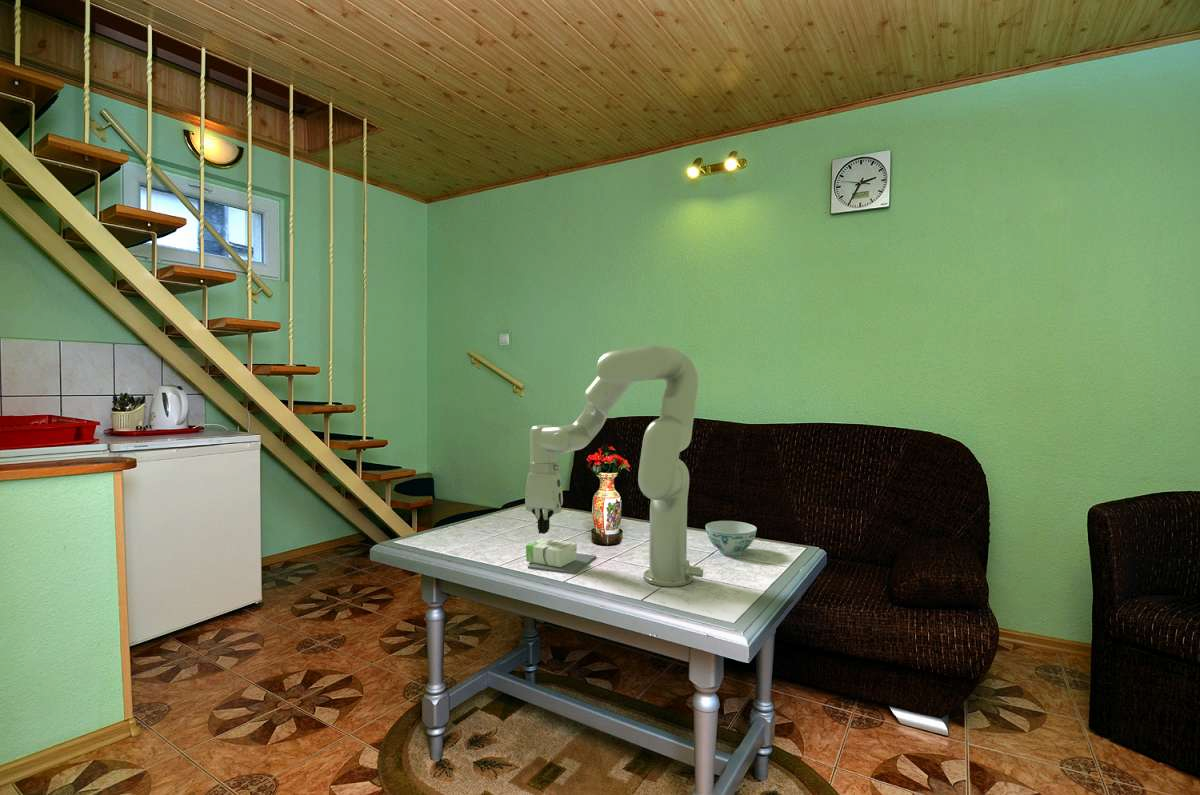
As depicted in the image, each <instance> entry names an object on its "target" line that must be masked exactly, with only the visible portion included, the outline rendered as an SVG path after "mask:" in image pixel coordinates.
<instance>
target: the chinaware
mask: <svg viewBox="0 0 1200 795" xmlns="http://www.w3.org/2000/svg"><path fill="white" fill-rule="evenodd" d="M757 530H758V528H757V527H756V526H755V525H753V524H750V523H747V522H743V521H735V520H717V521H711V522H708V523H706V524H705V532H706V534H707V538H708V539H709V541H710V543H711V544H712V545H713V546H714V547H715V548H717V549H718V551H719V553H720V554H722V555H725V556H734V557H735V556H740V555H742V554H743V551H744V550H746V549H747V548H749V547H750V545H751V544H752V543H753V542H754V540H755V537H756V534H757Z"/></svg>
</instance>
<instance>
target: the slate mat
mask: <svg viewBox="0 0 1200 795" xmlns="http://www.w3.org/2000/svg"><path fill="white" fill-rule="evenodd" d="M596 558H597V555H594V554H586V553H585V554H584V553H577V552H576V560H575V561H573V562H571V563H568V564H566V565H564V566H562V567H555V566H549V565H544V564H538V563H532V562H531V564H529V565H528V566H527V569H531V570H532V569H533V570H540V571H545V572H555V573H564V574H570V573H571V574H572V575H576V574H577V573H578V572H580V571H581V570H582V569H583V568H585V566H587V565H588V564H590V563H591V562H592V561H594V560H595V559H596Z"/></svg>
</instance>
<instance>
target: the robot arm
mask: <svg viewBox="0 0 1200 795" xmlns="http://www.w3.org/2000/svg"><path fill="white" fill-rule="evenodd" d="M595 370H596V371H595V372H596V375H597V376H596V377H595V378H594V380H593V381H592V382H591V383H590V385H589V386H588V387H587V388H586V390H585V392H584V398H585V400H586V405H585V407H584V409H583V411H582V412H581V414H580V415H579V416H578V417H577V419H576V420H575V421H574V422H573V423H572V424H566V425H559V426H558V425H557V426H554V425H552V424H536V425H533V426H532V427H530V431H529V443H530V444H529V449H530V450H529V451H530V452H529V459H530V460H529V467H530V468H529V472H528V473H527V479H526V483H525V495H524V499H525V500H524V501H525V502H524V503H525V505H526V506H525V510H526V511H527V512H530V513H532V514H533V515H534V516H535V519H537V530H538V534H542V535H545V534H546V533H548V532H549V530H550V518H552V516H553V515H556V514H560V513H562V505H563V502H564V499H563V498H564V497H563V485H562V480H561V479H562V478H561V474H560V473H559V472H558V471H561V469H562V466H561V464H560V465H559V464H558V461H557V460H558V457H557V454H558V453H559V454H567V453H571V452H575V451H580V450H582V449H584V448H585V447H587V446H588V445H589V444H590V443H591V442H592V441H593V439H594V438H595V437H596V436H597V435H598V433H599V432H600V431H601V429H602V428H603V426H604V425H605V422H606V421H607V418H608V416H609V413H610V411H611V409H612V408H613V407H614V406H615V405H616V404H617V402H618V401H619V400H620V398H622V397H623V395H624V393H625V392H626V391H627V390H628V389H629V388H630V386H631V385H632V384H633V383H635V382H636V383H637V382H643V381H655V380H656V381H657V380H658V381H659V380H660V381H662V380H663V381H664V382H665V388H664V392H663V396H662V401H661V408H660V412H659V418H656V419H655V420H653V421H651V422H650V423H649V425H647V427H646V428H645V431H644V435H643V439H642V446H641V452H640V458H639V467H638V475H637V477H638V478H637V482H638V483H637V484H638V487H639V490H640V491H641V493H642V494H643V495H644V497H646V498H648V499H650V504H649V569H646V570H645V571H644V572H643V579H644V580H645V581H646V582H647V583H649V584H652V585H655V586H660V587H669V588H670V587H671V588H672V587H682V586H686V585H688V584H691V582H693V577H697V578H703V577H704V569H701V567H700V566H692V565H691V564H690V560H689V559H688V560H687V556H688V554H687V550H688V549H687V541H688V540H687V539H688V538H687V537H688V536H687V535H688V534H687V533H688V532H687V530H688V528H687V526H688V523H687V522H688V499H689V498H688V496H689V488H690V472H689V469H688V467H687V465H686V464H685V462H684V461H682V460H681V459H680V458H679V457H680V453H681V452H682V451H684V450H686V449H687V448H688V447H689V445H690V443H691V441H692V437H693V436H692V435H693V426H694V420H695V418H694V417H695V413H696V412H695V411H696V401H697V394H698V389H699V388H698V387H699V385H698V384H699V377H698V372H697V369H696V366H695V365H694V363H693V361H692V360H691V358H689V357H688V356H687V355H686V354H684V353H683V352H681V351H679V349H675V348H672V347H669V346H663V345H655V344H654V345H652V344H651V345H645V346H639V347H638V346H637V347H630V348H624V349H623V348H622V349H617V350H610V351H607V352H605V353H603V354H602V355H601V356H600V357H599V359H598V360H597V362H596V368H595Z"/></svg>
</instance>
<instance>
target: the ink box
mask: <svg viewBox="0 0 1200 795" xmlns="http://www.w3.org/2000/svg"><path fill="white" fill-rule="evenodd" d="M577 546H578V545H577V543H576V542H575V543H574V542H568V541H563V540H562V541H561V540H555V539H550V538H543V537H542V538H540V539H538V540H535V541H534V542H531V543H528V544H526V546H525V555H526V556H525V557H526V558H525V559H526V562H529V563H531V564H532V563H538V564H544V565H549V566H555V567H562V566H564V565H566V564H568V563H571V562H573V561H575V560H576V553H577V551H578V550H577V549H578V548H577Z"/></svg>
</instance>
